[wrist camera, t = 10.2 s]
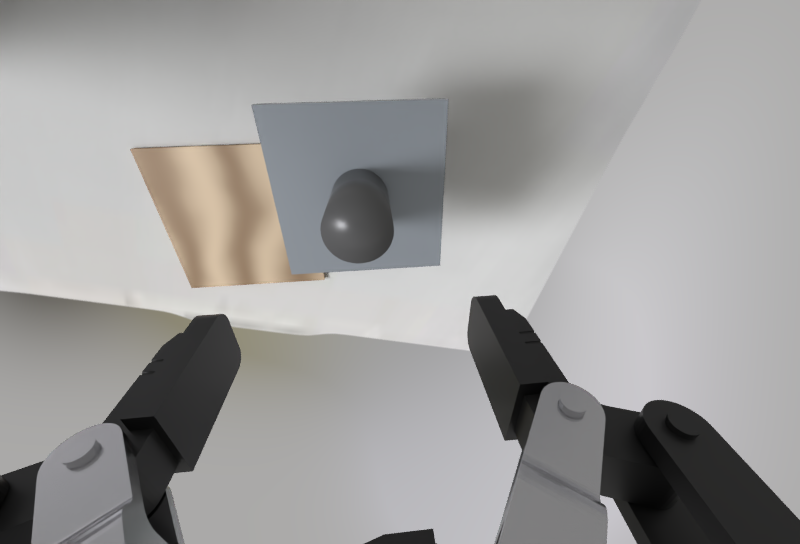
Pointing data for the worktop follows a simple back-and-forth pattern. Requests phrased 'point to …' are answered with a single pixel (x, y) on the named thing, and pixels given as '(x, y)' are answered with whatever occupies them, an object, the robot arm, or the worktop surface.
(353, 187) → the lid
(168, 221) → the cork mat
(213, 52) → the worktop surface
